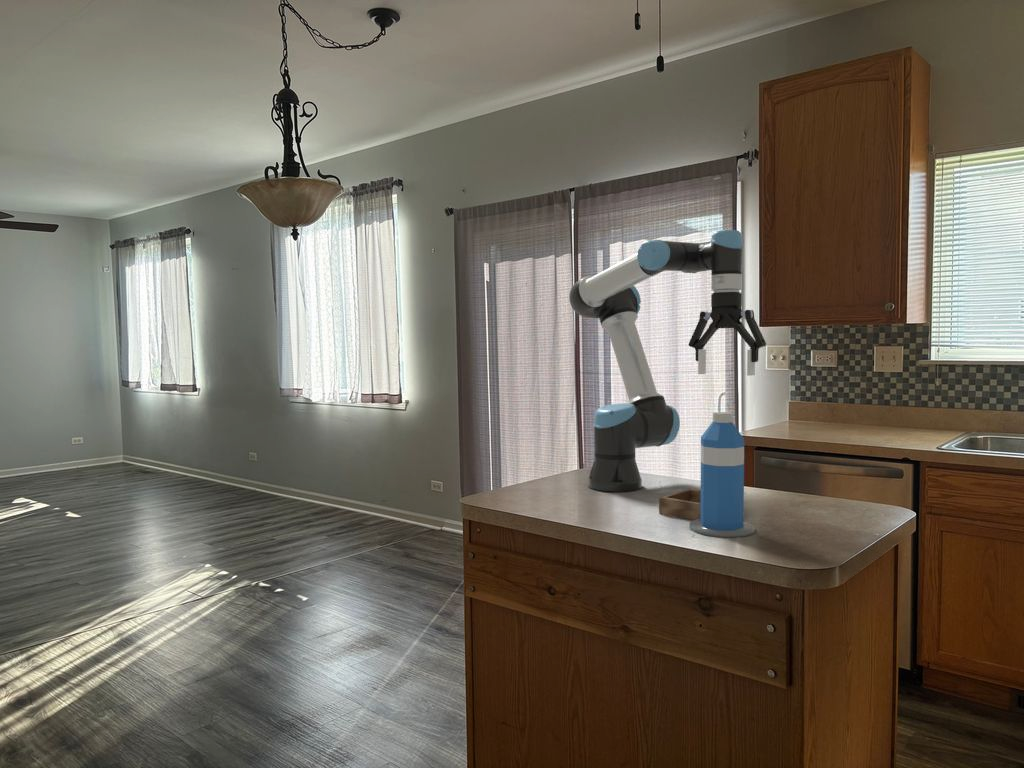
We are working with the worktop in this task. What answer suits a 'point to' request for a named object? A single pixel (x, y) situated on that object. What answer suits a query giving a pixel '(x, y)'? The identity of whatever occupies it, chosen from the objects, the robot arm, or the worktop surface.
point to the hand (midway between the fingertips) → (725, 374)
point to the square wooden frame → (682, 504)
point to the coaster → (742, 532)
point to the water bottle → (722, 475)
